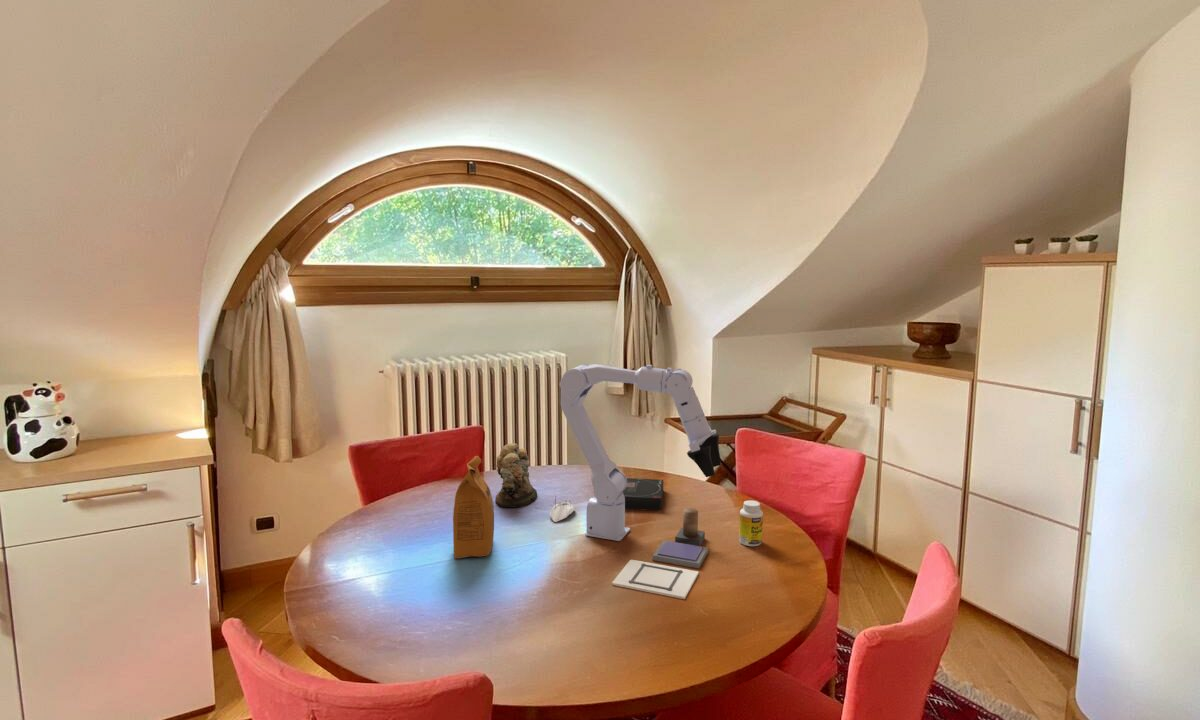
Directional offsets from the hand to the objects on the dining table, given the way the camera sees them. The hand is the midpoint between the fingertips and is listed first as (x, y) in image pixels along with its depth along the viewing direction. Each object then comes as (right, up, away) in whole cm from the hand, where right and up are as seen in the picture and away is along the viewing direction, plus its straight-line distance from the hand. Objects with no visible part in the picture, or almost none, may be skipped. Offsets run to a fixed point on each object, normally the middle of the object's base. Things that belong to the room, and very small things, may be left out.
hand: (713, 470), depth 153 cm
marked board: (-15, -21, -14) cm, 29 cm away
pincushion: (-38, -17, +23) cm, 47 cm away
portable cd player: (-17, -15, +35) cm, 42 cm away
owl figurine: (-52, -15, +35) cm, 65 cm away
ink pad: (-8, -20, -3) cm, 22 cm away
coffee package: (-57, -19, +1) cm, 61 cm away
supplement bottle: (+10, -19, +5) cm, 22 cm away
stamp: (-5, -19, +6) cm, 20 cm away
